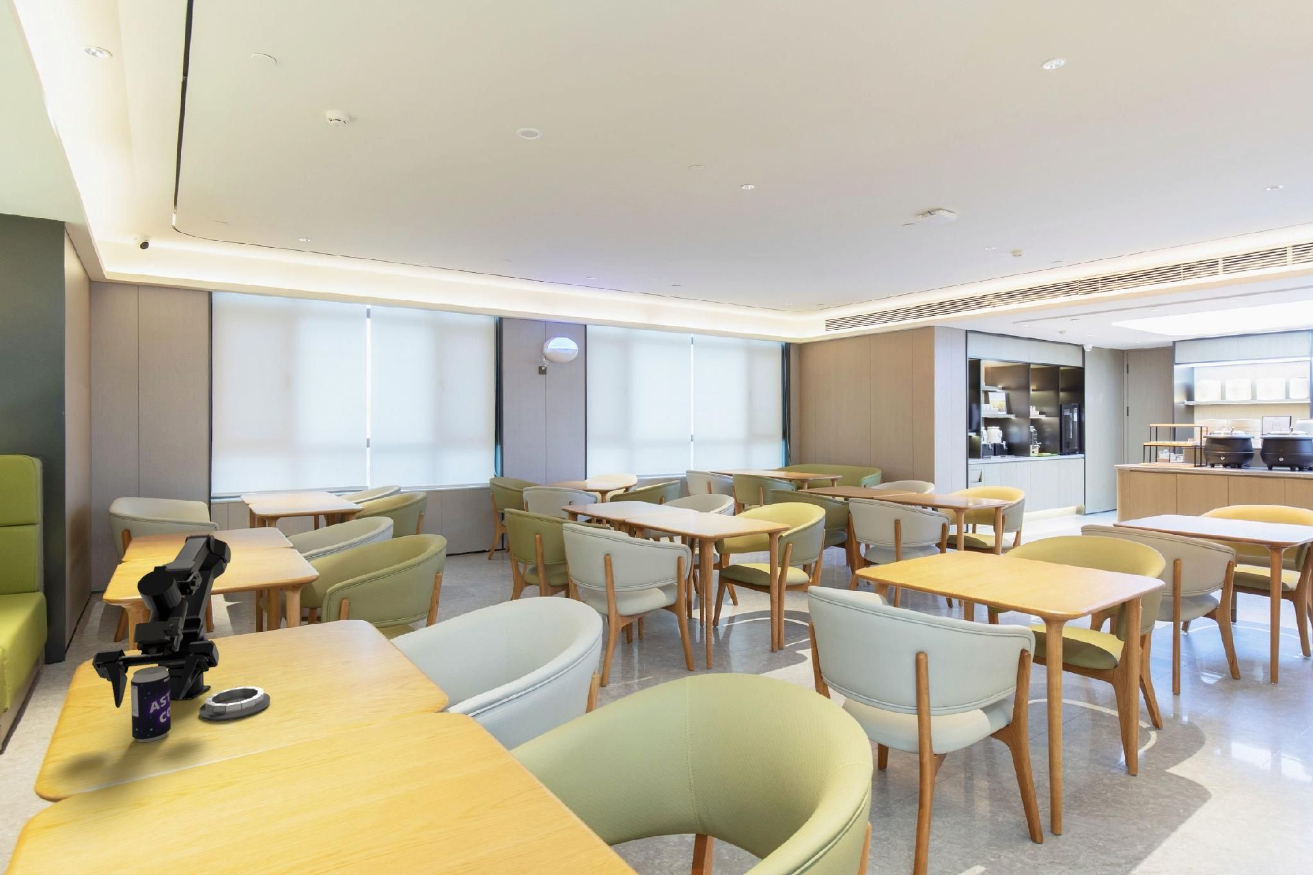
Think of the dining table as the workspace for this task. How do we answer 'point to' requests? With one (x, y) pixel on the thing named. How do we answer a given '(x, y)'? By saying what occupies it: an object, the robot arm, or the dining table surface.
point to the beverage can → (150, 703)
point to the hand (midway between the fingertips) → (148, 703)
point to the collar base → (236, 714)
